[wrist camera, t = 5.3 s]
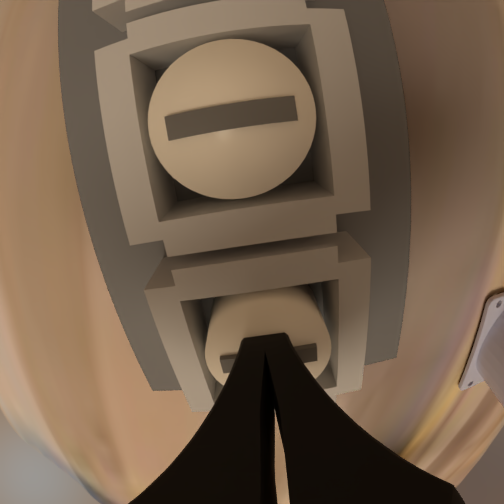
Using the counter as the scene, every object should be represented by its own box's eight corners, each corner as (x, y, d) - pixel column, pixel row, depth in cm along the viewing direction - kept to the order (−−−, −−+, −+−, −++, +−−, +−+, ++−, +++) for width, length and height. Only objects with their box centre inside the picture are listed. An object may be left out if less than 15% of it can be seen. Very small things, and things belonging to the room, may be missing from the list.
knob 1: (288, 55, 8) (303, 29, 6) (305, 174, 10) (326, 189, 7) (163, 75, 8) (135, 57, 6) (183, 192, 10) (162, 214, 7)
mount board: (333, -87, 6) (356, -132, 2) (385, 338, 14) (415, 391, 11) (79, -45, 7) (39, -77, 3) (159, 369, 15) (142, 427, 11)
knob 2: (313, 258, 11) (332, 297, 8) (317, 345, 12) (331, 391, 10) (201, 274, 11) (189, 317, 8) (222, 358, 12) (219, 406, 10)
